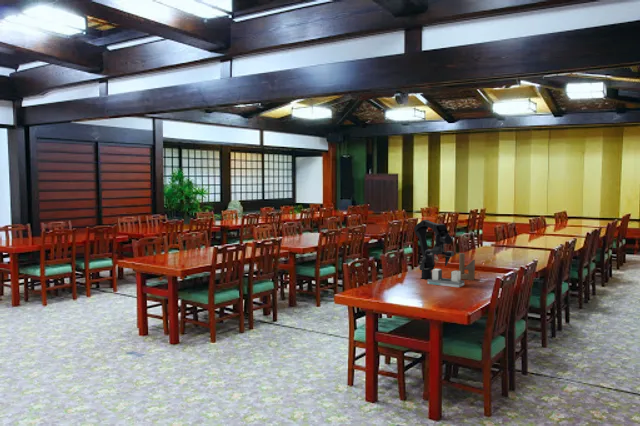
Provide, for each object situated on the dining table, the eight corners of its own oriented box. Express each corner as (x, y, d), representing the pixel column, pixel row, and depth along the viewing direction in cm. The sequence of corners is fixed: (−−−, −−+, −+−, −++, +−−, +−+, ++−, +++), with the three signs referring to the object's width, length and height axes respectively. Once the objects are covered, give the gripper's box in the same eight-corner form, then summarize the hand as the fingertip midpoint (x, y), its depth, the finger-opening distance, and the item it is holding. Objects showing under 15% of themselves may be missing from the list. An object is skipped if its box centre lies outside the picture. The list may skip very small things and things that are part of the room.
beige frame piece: (472, 280, 365) (473, 254, 364) (458, 278, 371) (458, 253, 370) (474, 279, 368) (475, 254, 367) (460, 277, 374) (460, 252, 373)
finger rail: (427, 283, 353) (427, 269, 353) (433, 281, 362) (433, 267, 361) (459, 287, 341) (459, 272, 340) (464, 284, 349) (464, 270, 348)
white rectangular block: (435, 280, 358) (435, 268, 358) (442, 280, 356) (442, 269, 355) (432, 281, 353) (432, 269, 353) (438, 282, 351) (438, 270, 350)
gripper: (421, 242, 354) (421, 265, 355) (448, 244, 343) (447, 268, 344) (428, 241, 363) (428, 263, 364) (454, 243, 352) (454, 266, 353)
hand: (439, 265), depth 356 cm, fingers open, 9 cm apart
